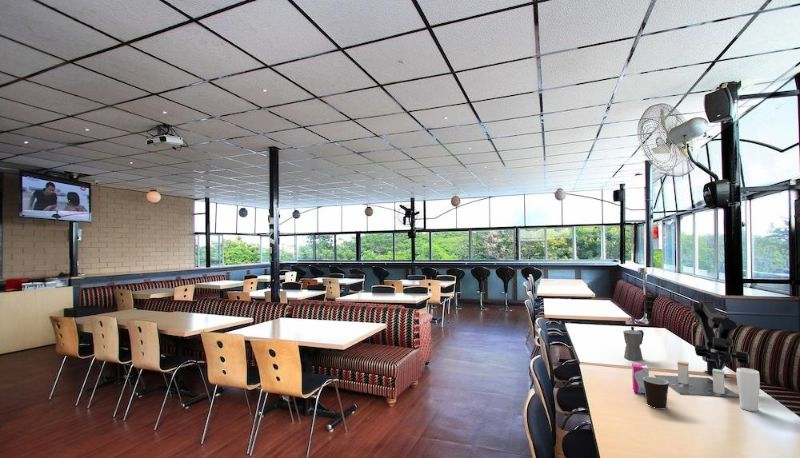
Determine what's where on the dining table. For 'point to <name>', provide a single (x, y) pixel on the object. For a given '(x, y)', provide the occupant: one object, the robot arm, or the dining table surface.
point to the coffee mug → (656, 391)
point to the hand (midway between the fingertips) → (719, 370)
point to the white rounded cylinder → (748, 388)
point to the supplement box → (639, 377)
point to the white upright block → (718, 381)
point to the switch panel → (696, 387)
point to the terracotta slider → (683, 372)
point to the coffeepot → (633, 344)
